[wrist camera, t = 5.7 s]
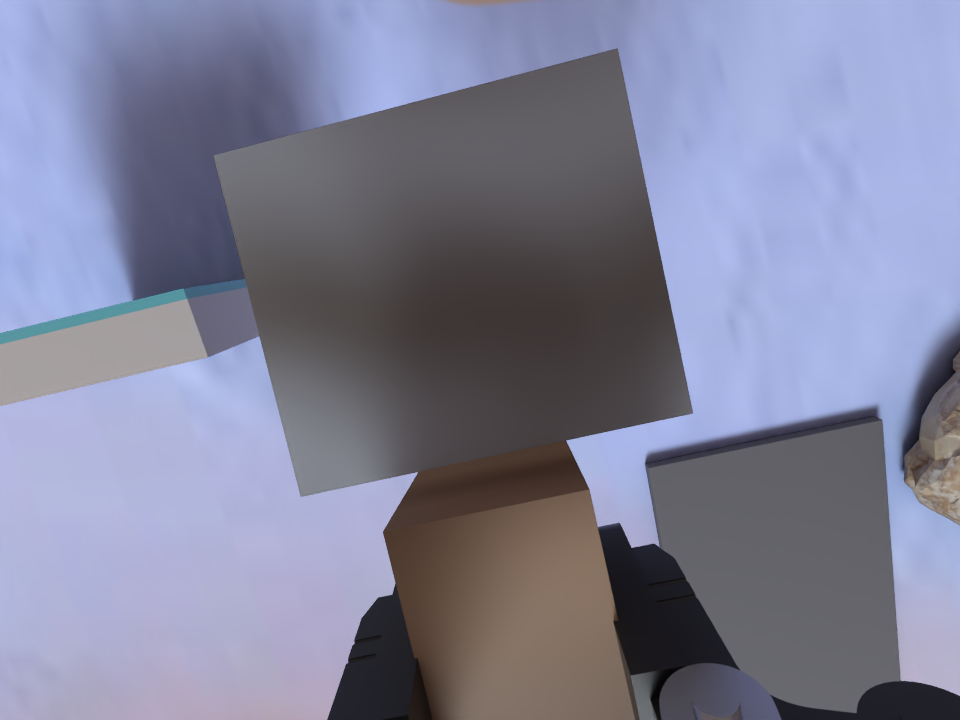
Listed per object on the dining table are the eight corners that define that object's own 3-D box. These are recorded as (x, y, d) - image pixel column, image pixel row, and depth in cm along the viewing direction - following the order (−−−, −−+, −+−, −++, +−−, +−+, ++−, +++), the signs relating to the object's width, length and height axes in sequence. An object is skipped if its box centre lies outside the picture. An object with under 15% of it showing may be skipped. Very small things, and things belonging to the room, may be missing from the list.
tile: (135, 312, 27) (-140, 367, 15) (320, 266, 26) (183, 288, 14) (149, 349, 27) (-108, 431, 15) (332, 305, 26) (208, 357, 15)
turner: (239, 170, 11) (91, 87, 7) (607, 74, 11) (666, -74, 7) (422, 889, 12) (380, 1164, 8) (766, 836, 12) (899, 1102, 8)
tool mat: (645, 463, 28) (648, 468, 27) (873, 416, 27) (882, 420, 27) (697, 756, 32) (701, 765, 32) (896, 723, 31) (904, 732, 31)
